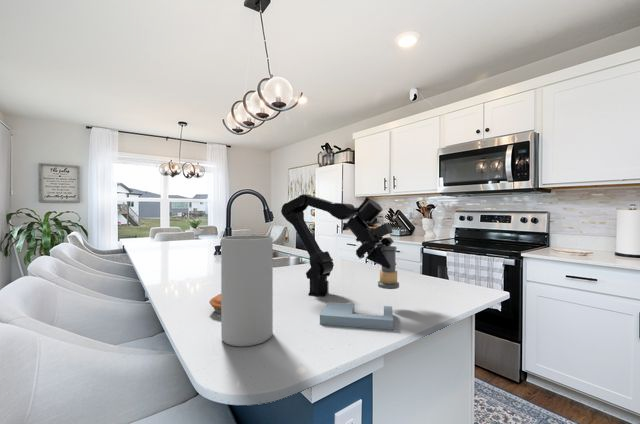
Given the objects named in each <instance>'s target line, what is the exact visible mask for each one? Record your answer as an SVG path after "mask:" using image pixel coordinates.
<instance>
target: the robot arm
mask: <svg viewBox="0 0 640 424" xmlns="http://www.w3.org/2000/svg"><path fill="white" fill-rule="evenodd" d="M308 207H311V208H314V209H318V210H322V211H323V212H327V213H329V214H330V215H331V216H332V217H334V218H336V219H338V220H340V221H344V220H348V221H347V222H343V223H342V231H345V232H346V231H349V230H350V231H351V233H352V234H353V235H354V236H355V237H356V238H355V241H356V242H357V243H358V242H359V243H361V245H360V246H359V247H358V248H357V249H356V250H355V255H356V257H358V259H359V260H361V259H364V258H365V259H366V260H369V261H371V262H373V263H376V264H378V265H380V266H381V267H382V266H384V267H386V268H388V269H389V268H390V267H391V266H390V264H389V263H388V261H387V260H386V258H385V257H384V255H383V254H382V249H381V246H392V244H393V243H394V240H393V238H392V237H390V236H389V237H384V236H387V235H389V234H392V233H393V232H394V231H393V230H392V229H393V226H392V225H391V224H390V223H387V222H384V223H383V224H381V225H379V226H378V227H370V226H369V225H368V224H367V223H372V222H373V221H374V220H375V219H376V218H377V217H378V216H379V215H380V213H381V212H382V211H383V207H382V206H381V205H380V204H379V203H377V202H376V201H375V200H373V199H372V198H370V197H365V199H364V200H363V202H362V203H361V204H360V205H359V206H358V207H355V206H354V205H353V204H351V203H344V202H333V201H330V200H326V199H323V198H320V197H316V196H313V195H311V194H308V193H307V194H306V193H305V194H304V193H302V194H300V195H299V196H298V197H296V198H293V199H292V200H289V201H288V202H286V203H283V205H282V207H281V210H280V212H281V215H282V216H283V218H284V219H285V221H287V222H288V223H290V224H291V225H292V226H293V228H294V229H295V231H296V233H297V236H298V238H299V239H300V240H301V243H302V244H303V246H304V248H305V251H306V252H307V253H308V256H309V265H310V268H309V269H308V270H307V271H306V273H305V275H306V276H305V277H306V279H309V292H308V294H307V295H308V296H320V297H326V295H327V294H328V293H329V289H330V288H329V287H330V285H329V280H328V277H330V275H331V272H332V271H333V270H334V266H335V264H334V259H333V258H332V257H331V255H330V252H329V251H323V250H322V249H321V248H320V246H319V244H318V242H317V241H316V239H315V237H314V235H313V233H312V232H311V230H310V228H309V226H308V224H307V223H306V221H305V213H304V211H306V210H307V209H308ZM366 254H367V256H366V257H365V255H366ZM396 265H397V263H396V261H395V267H396Z"/></svg>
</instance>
